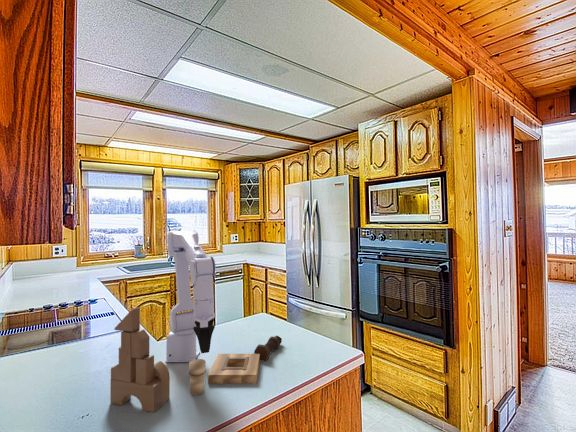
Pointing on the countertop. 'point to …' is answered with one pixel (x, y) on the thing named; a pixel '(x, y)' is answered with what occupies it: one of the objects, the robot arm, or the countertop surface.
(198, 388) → the peg
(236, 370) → the board
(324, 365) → the countertop surface
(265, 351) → the bolt
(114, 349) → the countertop surface
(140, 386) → the wooden toy
